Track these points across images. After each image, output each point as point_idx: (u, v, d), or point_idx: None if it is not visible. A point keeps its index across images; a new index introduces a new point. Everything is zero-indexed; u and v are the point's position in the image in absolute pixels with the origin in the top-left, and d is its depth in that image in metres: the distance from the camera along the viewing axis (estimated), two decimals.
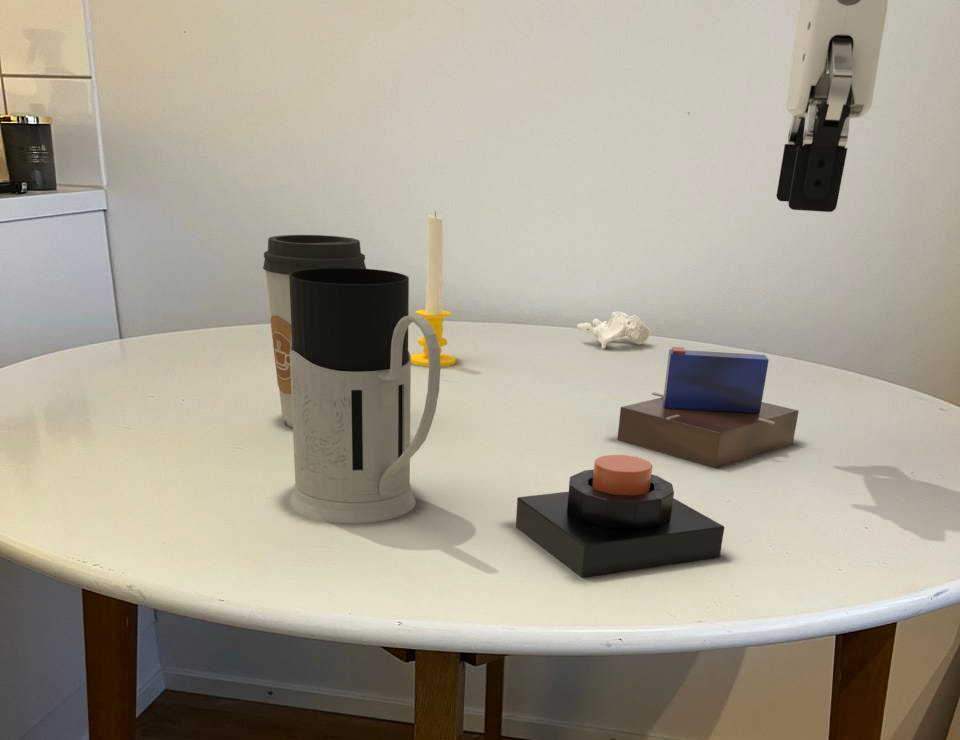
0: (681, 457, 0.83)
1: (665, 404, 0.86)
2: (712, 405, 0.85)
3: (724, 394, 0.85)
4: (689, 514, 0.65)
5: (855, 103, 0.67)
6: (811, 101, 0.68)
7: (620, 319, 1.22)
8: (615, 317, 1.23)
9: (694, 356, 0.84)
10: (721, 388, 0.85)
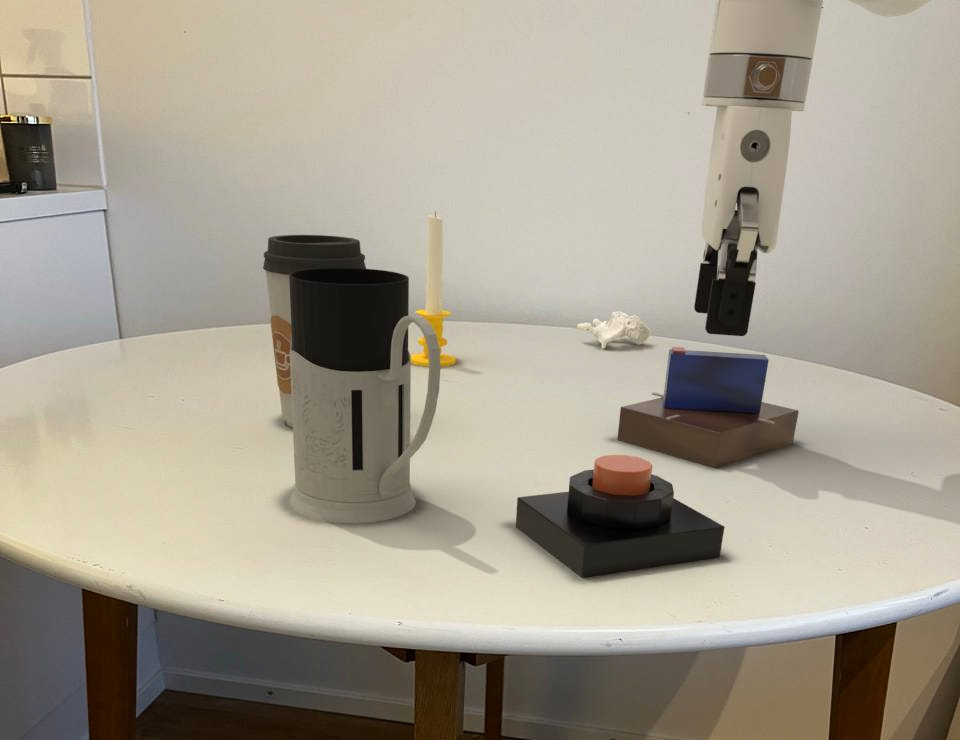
0: (681, 457, 0.83)
1: (665, 404, 0.86)
2: (712, 405, 0.85)
3: (724, 394, 0.85)
4: (689, 514, 0.65)
5: (761, 244, 0.76)
6: (723, 241, 0.76)
7: (620, 319, 1.22)
8: (615, 317, 1.23)
9: (694, 356, 0.84)
10: (721, 388, 0.85)
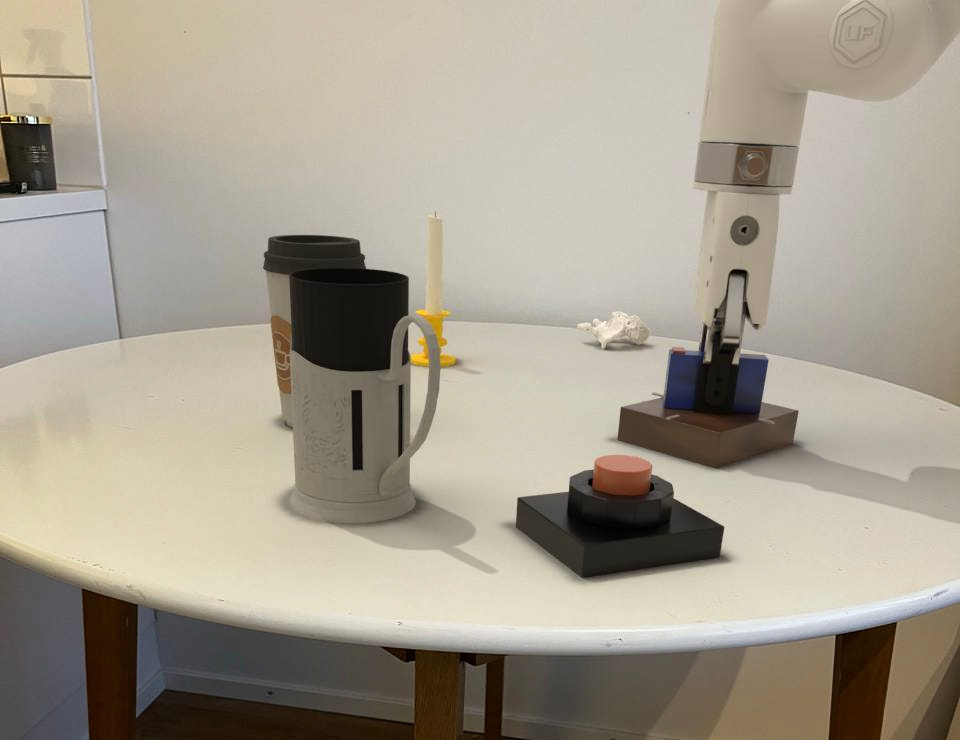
0: (681, 457, 0.83)
1: (665, 404, 0.86)
2: None
3: None
4: (689, 514, 0.65)
5: (752, 322, 0.78)
6: (710, 331, 0.81)
7: (620, 319, 1.22)
8: (615, 317, 1.23)
9: (694, 356, 0.84)
10: None
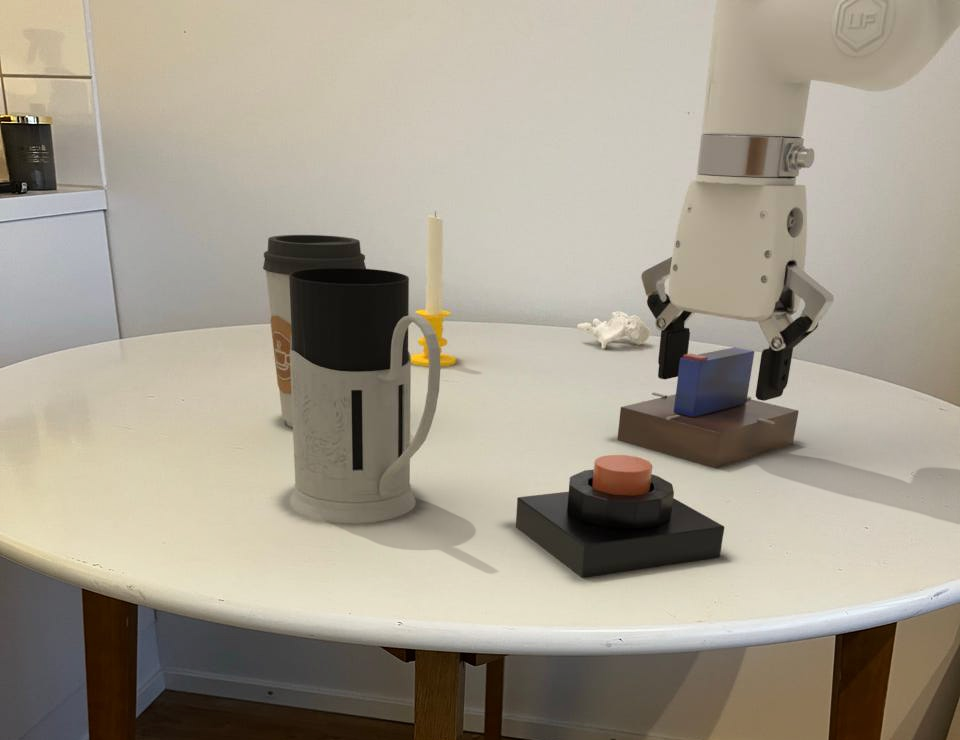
0: (681, 457, 0.83)
1: (693, 413, 0.83)
2: (721, 405, 0.86)
3: (728, 392, 0.86)
4: (689, 514, 0.65)
5: (792, 310, 0.80)
6: None
7: (620, 319, 1.22)
8: (615, 317, 1.23)
9: (714, 360, 0.83)
10: (727, 386, 0.85)
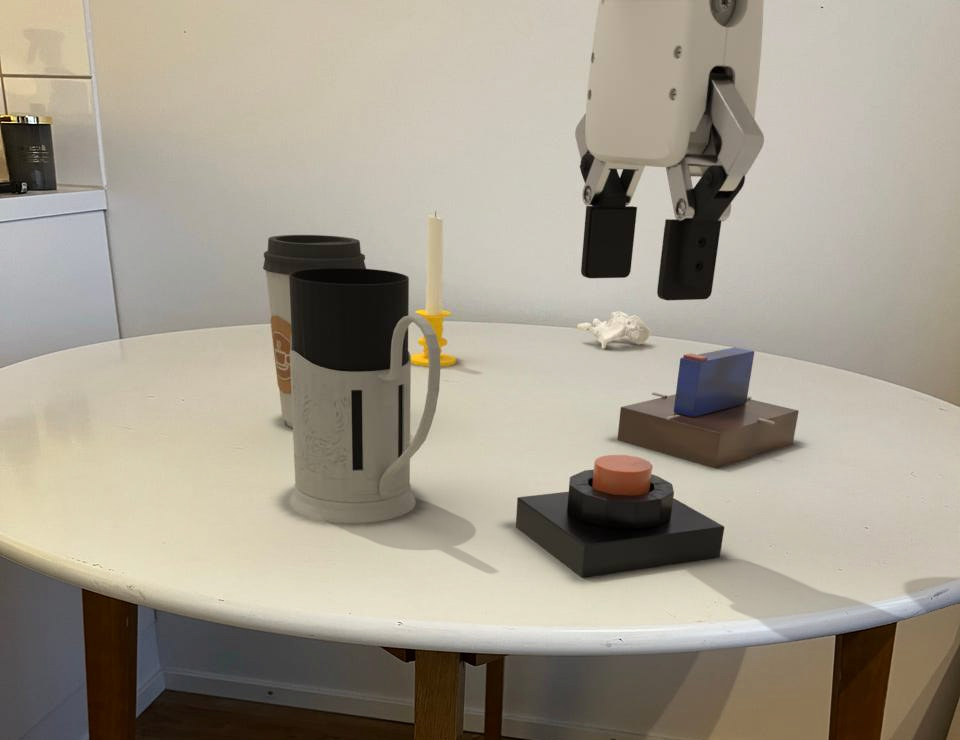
0: (681, 457, 0.83)
1: (693, 413, 0.83)
2: (721, 405, 0.86)
3: (728, 392, 0.86)
4: (689, 514, 0.65)
5: None
6: (682, 160, 0.52)
7: (620, 319, 1.22)
8: (615, 317, 1.23)
9: (714, 360, 0.83)
10: (727, 386, 0.85)
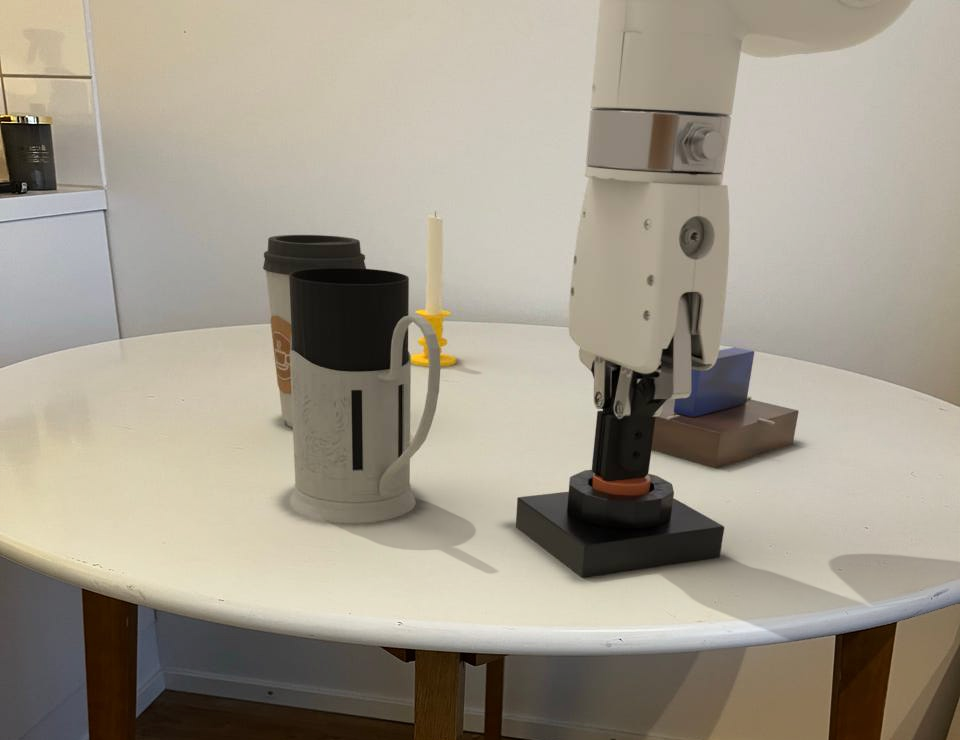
0: (681, 457, 0.83)
1: (693, 413, 0.83)
2: (721, 405, 0.86)
3: (728, 392, 0.86)
4: (689, 514, 0.65)
5: (704, 363, 0.57)
6: (633, 376, 0.58)
7: None
8: None
9: None
10: (727, 386, 0.85)
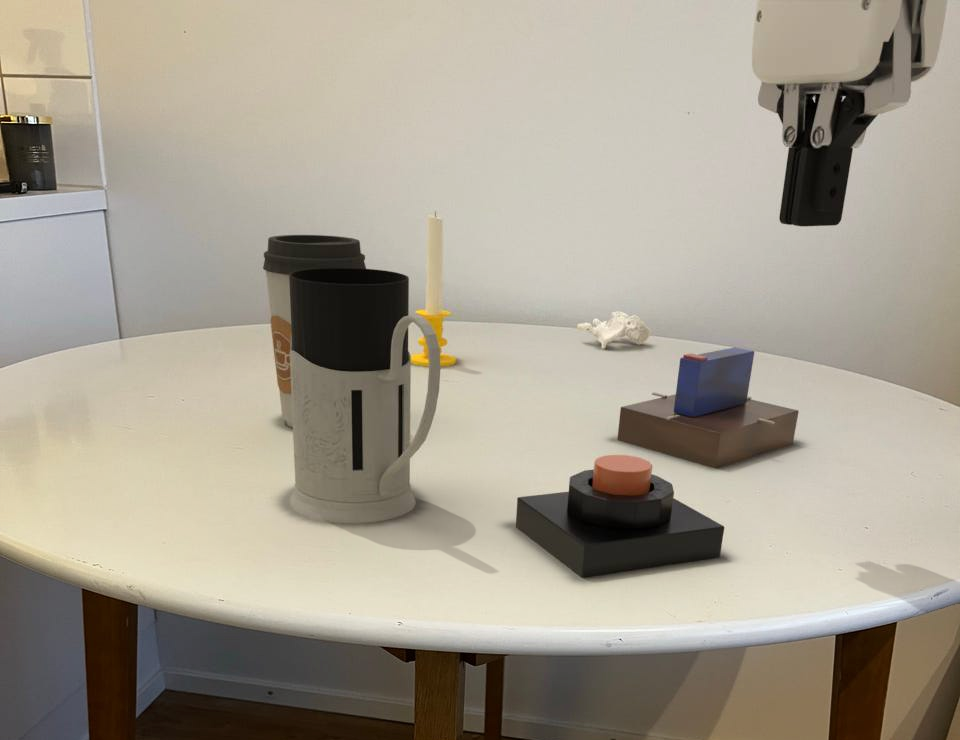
0: (681, 457, 0.83)
1: (693, 413, 0.83)
2: (721, 405, 0.86)
3: (728, 392, 0.86)
4: (689, 514, 0.65)
5: (923, 65, 0.52)
6: (838, 92, 0.53)
7: (620, 319, 1.22)
8: (615, 317, 1.23)
9: (714, 360, 0.83)
10: (727, 386, 0.85)
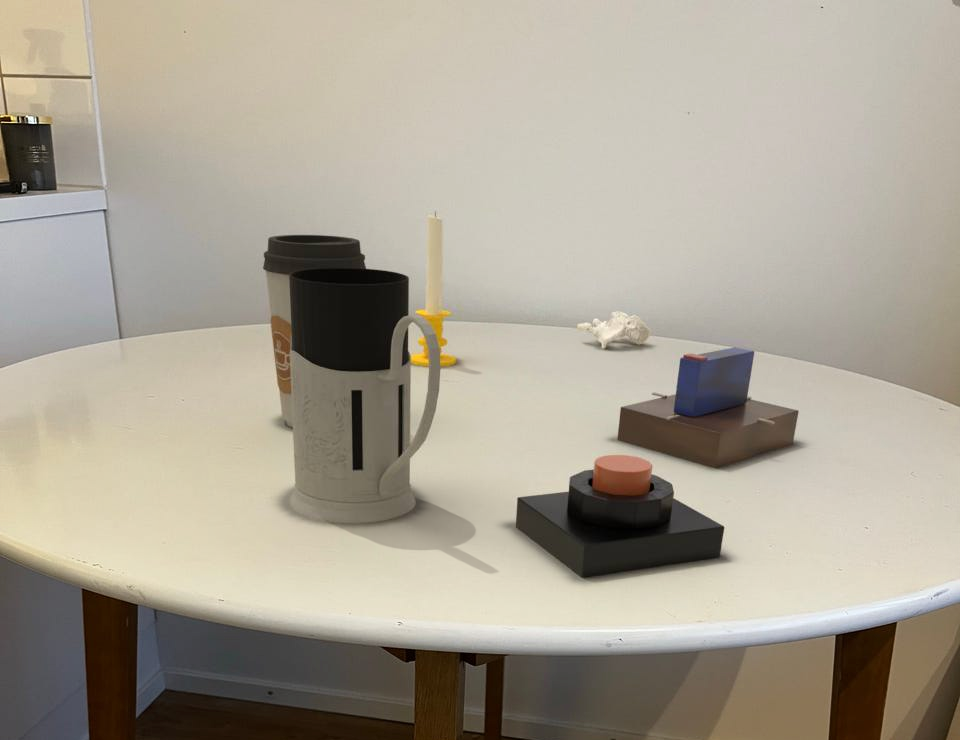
0: (681, 457, 0.83)
1: (693, 413, 0.83)
2: (721, 405, 0.86)
3: (728, 392, 0.86)
4: (689, 514, 0.65)
5: None
6: None
7: (620, 319, 1.22)
8: (615, 317, 1.23)
9: (714, 360, 0.83)
10: (727, 386, 0.85)
